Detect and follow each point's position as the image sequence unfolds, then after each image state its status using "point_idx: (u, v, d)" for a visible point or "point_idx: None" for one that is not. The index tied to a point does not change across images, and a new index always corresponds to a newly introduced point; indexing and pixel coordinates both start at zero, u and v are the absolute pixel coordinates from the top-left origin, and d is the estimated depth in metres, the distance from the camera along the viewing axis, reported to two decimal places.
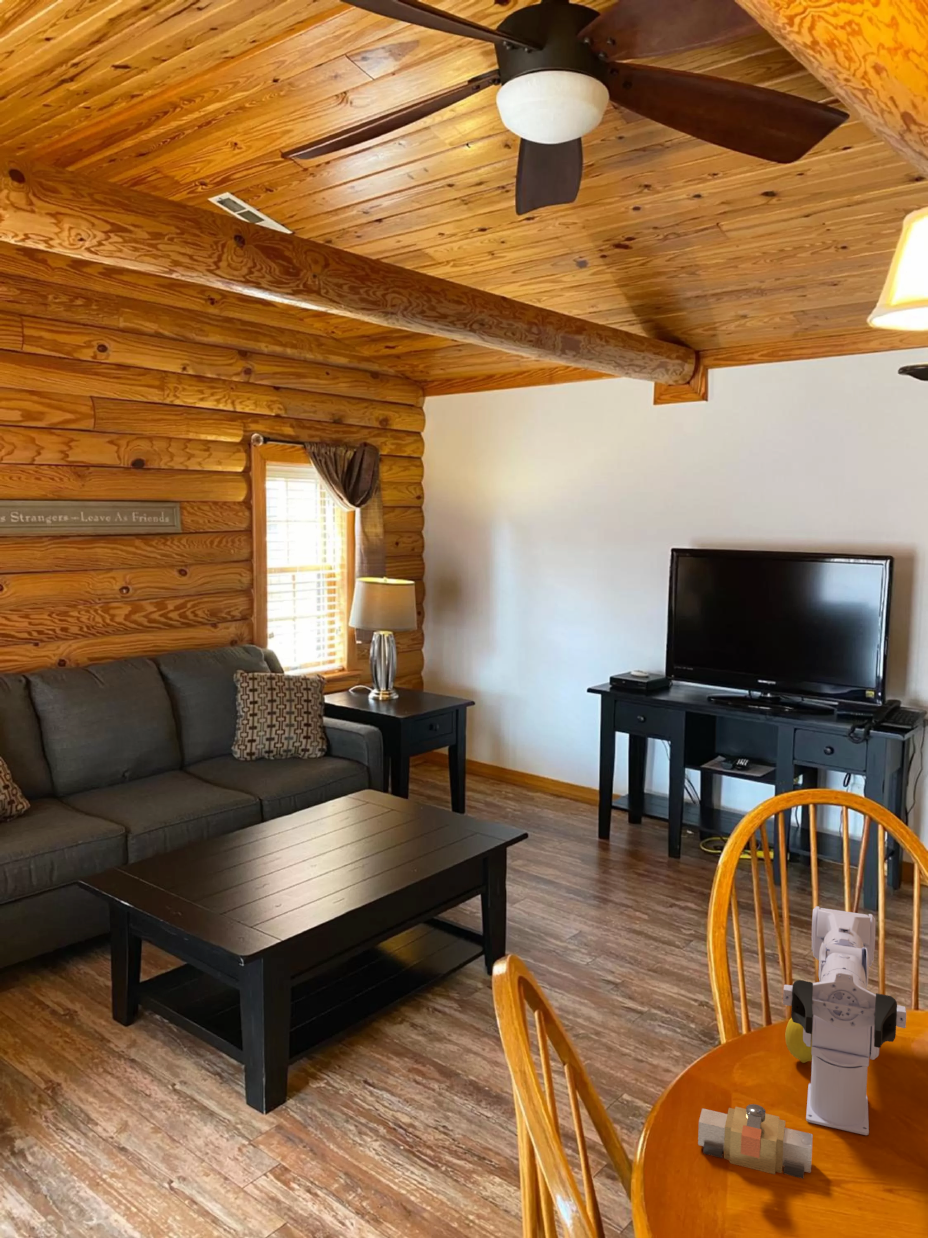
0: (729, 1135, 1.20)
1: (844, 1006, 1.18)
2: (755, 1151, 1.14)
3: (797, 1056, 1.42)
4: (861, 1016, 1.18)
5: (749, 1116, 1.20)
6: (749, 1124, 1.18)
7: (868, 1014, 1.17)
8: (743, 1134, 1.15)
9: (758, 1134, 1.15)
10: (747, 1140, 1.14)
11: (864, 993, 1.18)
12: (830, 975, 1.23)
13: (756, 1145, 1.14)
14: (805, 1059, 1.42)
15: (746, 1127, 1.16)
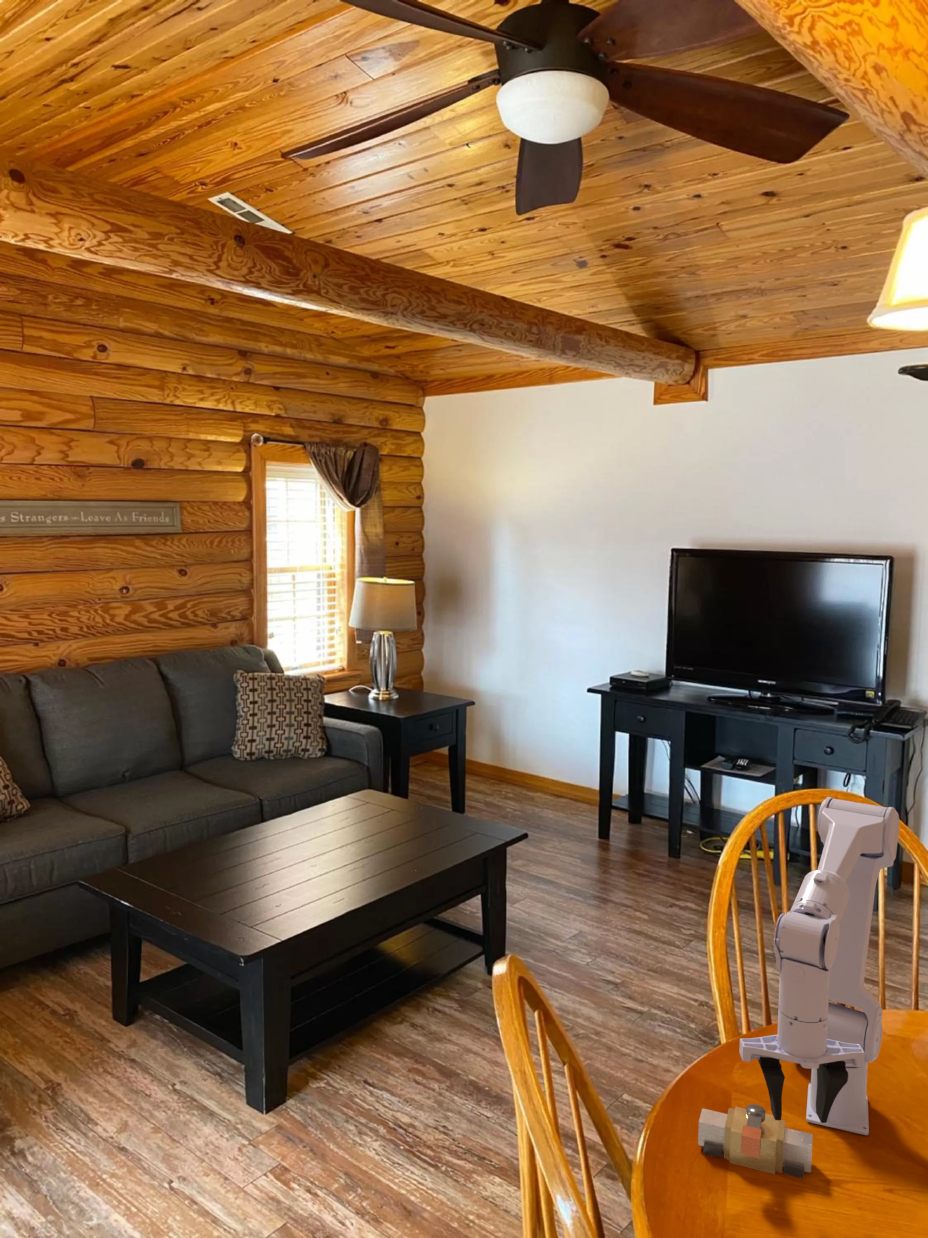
0: (729, 1135, 1.20)
1: None
2: (755, 1151, 1.14)
3: None
4: None
5: (749, 1116, 1.20)
6: (749, 1124, 1.18)
7: None
8: (743, 1134, 1.15)
9: (758, 1134, 1.15)
10: (747, 1140, 1.14)
11: None
12: (793, 1034, 1.12)
13: (756, 1145, 1.14)
14: None
15: (746, 1127, 1.16)
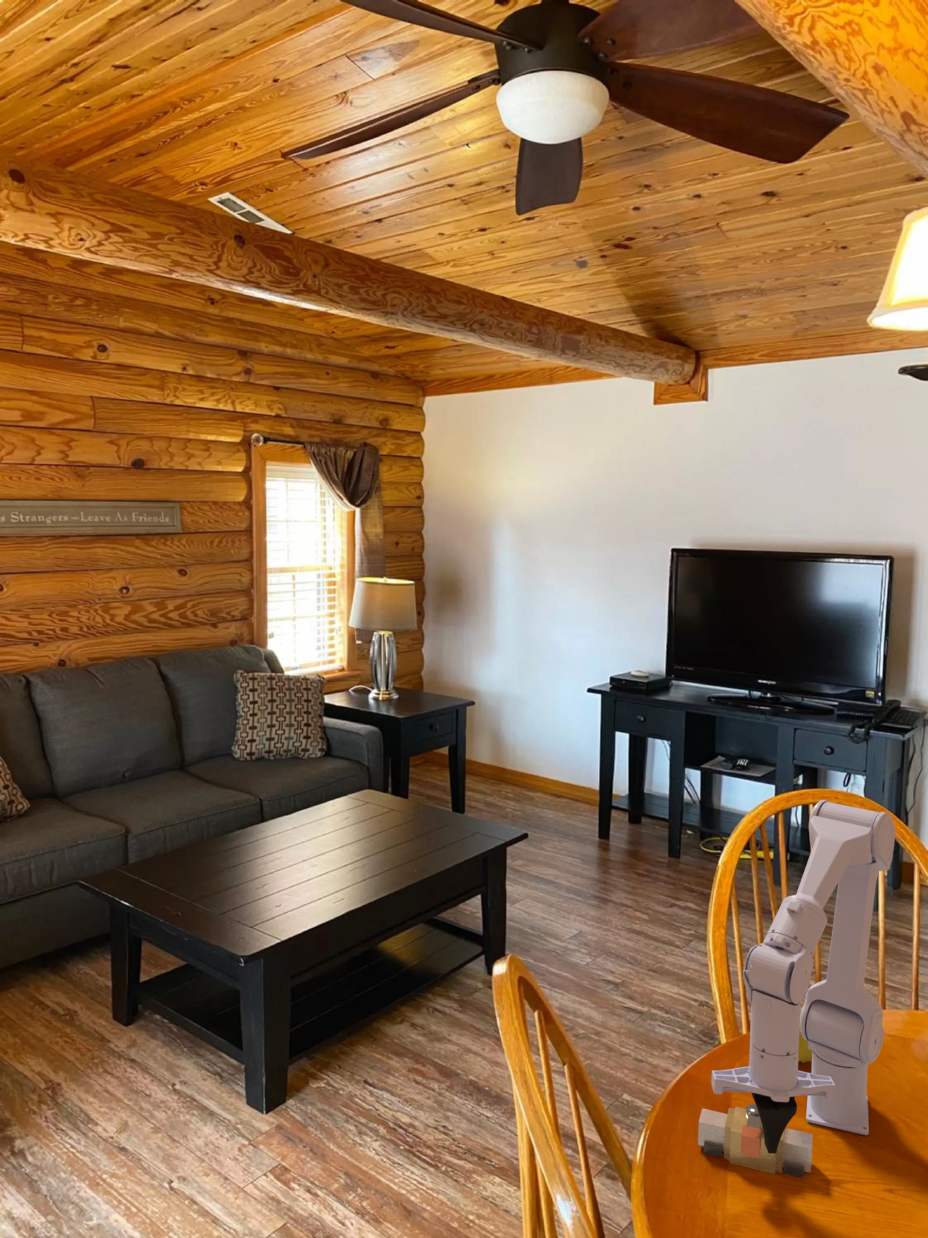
0: (729, 1135, 1.20)
1: None
2: (755, 1151, 1.14)
3: None
4: None
5: (749, 1116, 1.20)
6: (749, 1124, 1.18)
7: None
8: (743, 1134, 1.15)
9: (758, 1134, 1.15)
10: (747, 1140, 1.15)
11: None
12: (764, 1067, 1.12)
13: (756, 1145, 1.14)
14: (805, 1059, 1.42)
15: (746, 1127, 1.16)
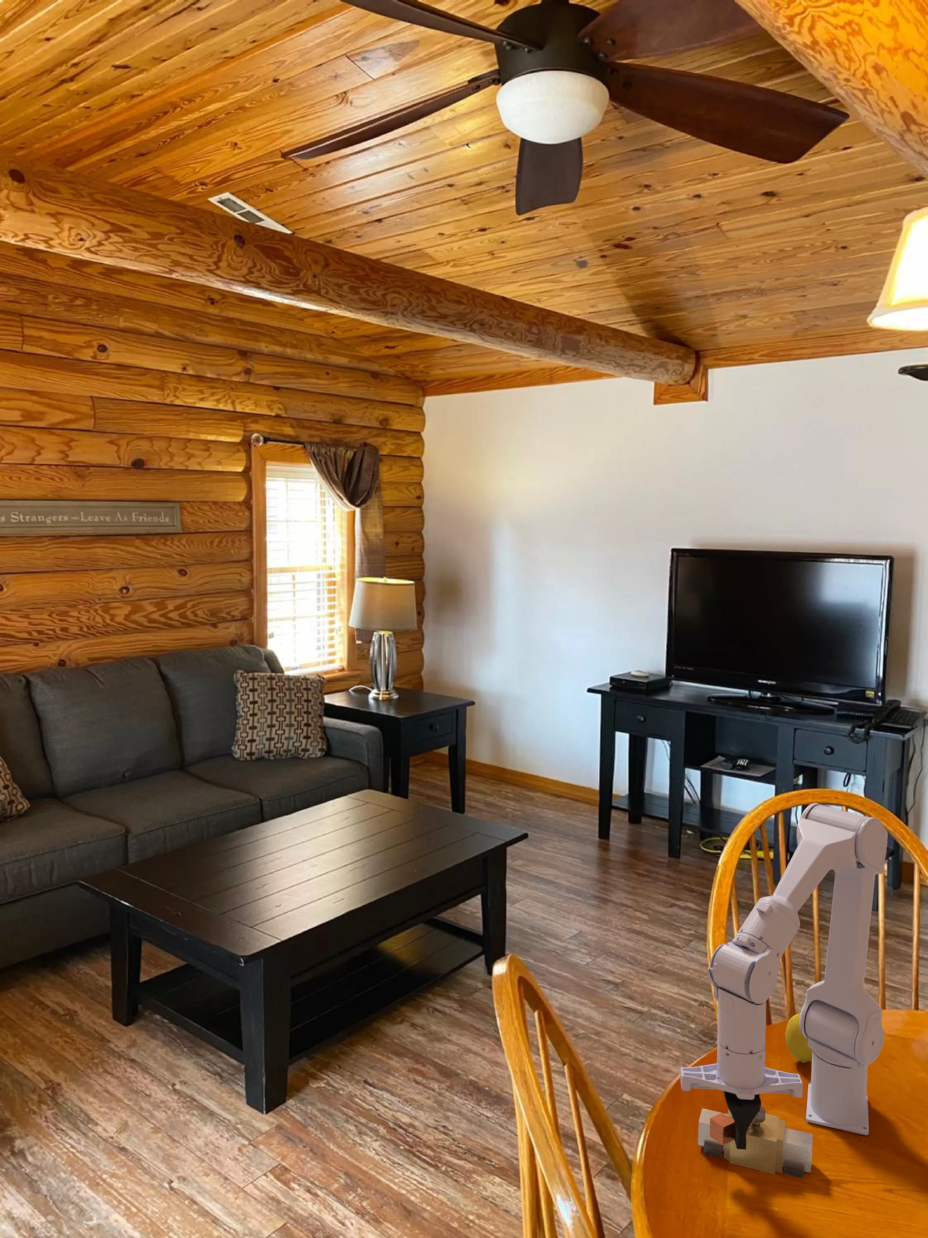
0: None
1: None
2: (720, 1137, 1.17)
3: (797, 1056, 1.42)
4: None
5: None
6: None
7: None
8: (712, 1118, 1.18)
9: (727, 1123, 1.17)
10: (714, 1124, 1.18)
11: None
12: (730, 1065, 1.13)
13: (721, 1131, 1.17)
14: (805, 1059, 1.42)
15: (722, 1115, 1.19)
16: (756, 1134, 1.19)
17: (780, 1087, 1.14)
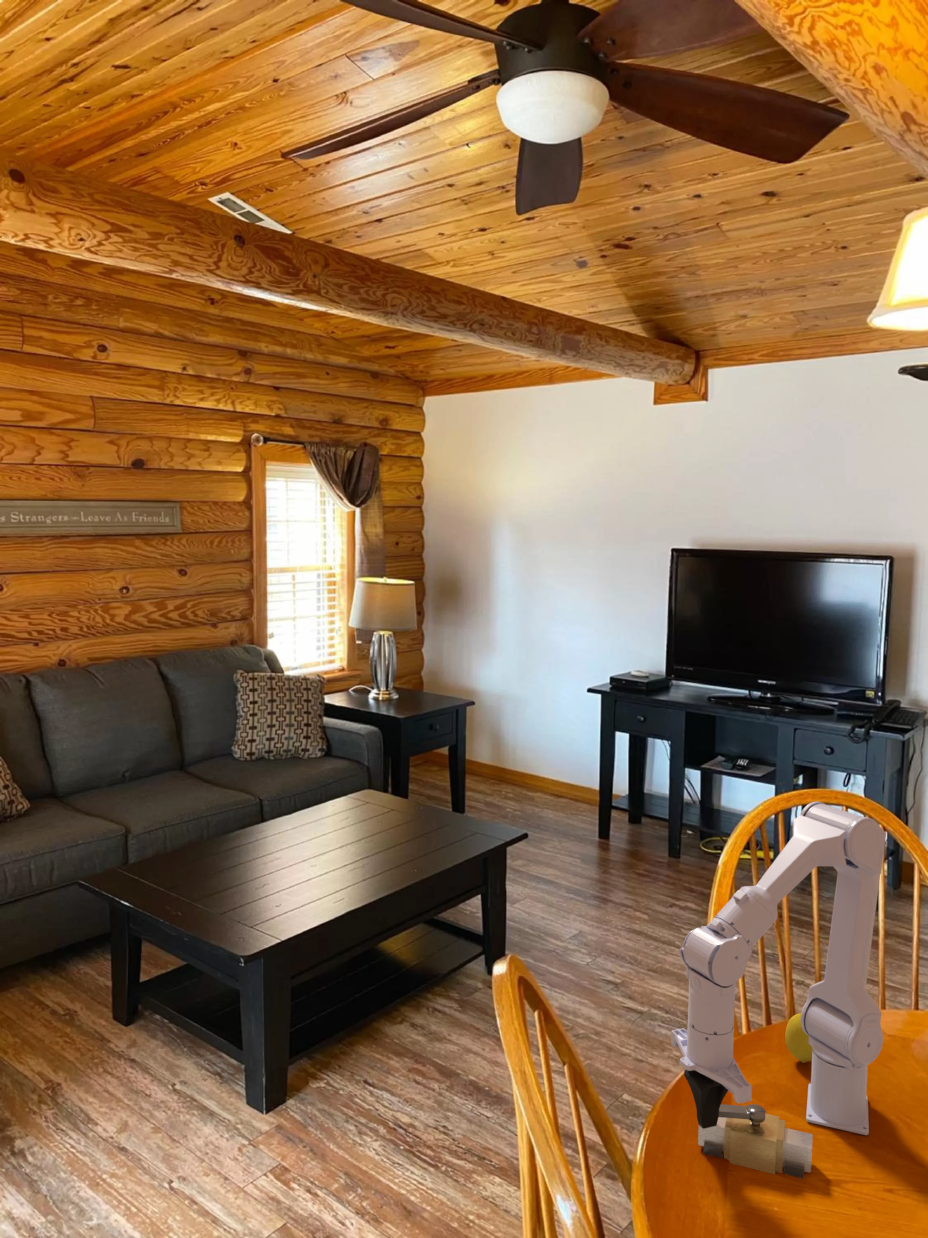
0: (729, 1135, 1.20)
1: None
2: None
3: (797, 1056, 1.42)
4: None
5: (741, 1106, 1.22)
6: (728, 1106, 1.22)
7: None
8: None
9: None
10: None
11: None
12: (687, 1033, 1.20)
13: None
14: (805, 1059, 1.42)
15: None
16: (756, 1134, 1.19)
17: (720, 1080, 1.14)
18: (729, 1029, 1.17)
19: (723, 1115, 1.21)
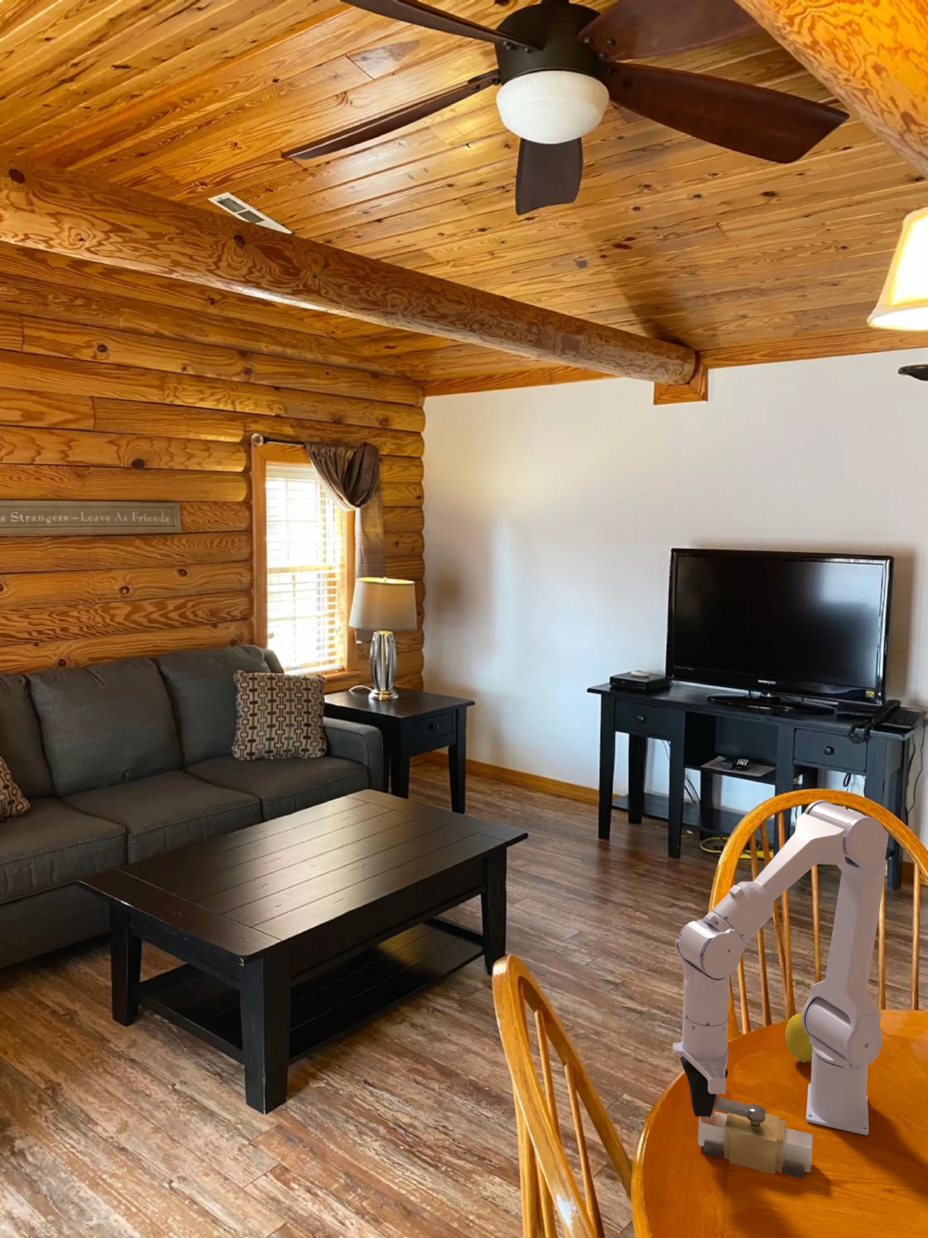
0: (729, 1135, 1.20)
1: None
2: None
3: (797, 1056, 1.42)
4: None
5: (743, 1104, 1.22)
6: (730, 1101, 1.23)
7: None
8: None
9: None
10: None
11: None
12: None
13: None
14: (805, 1059, 1.42)
15: None
16: (756, 1134, 1.19)
17: (699, 1069, 1.17)
18: (722, 1021, 1.19)
19: (721, 1108, 1.22)
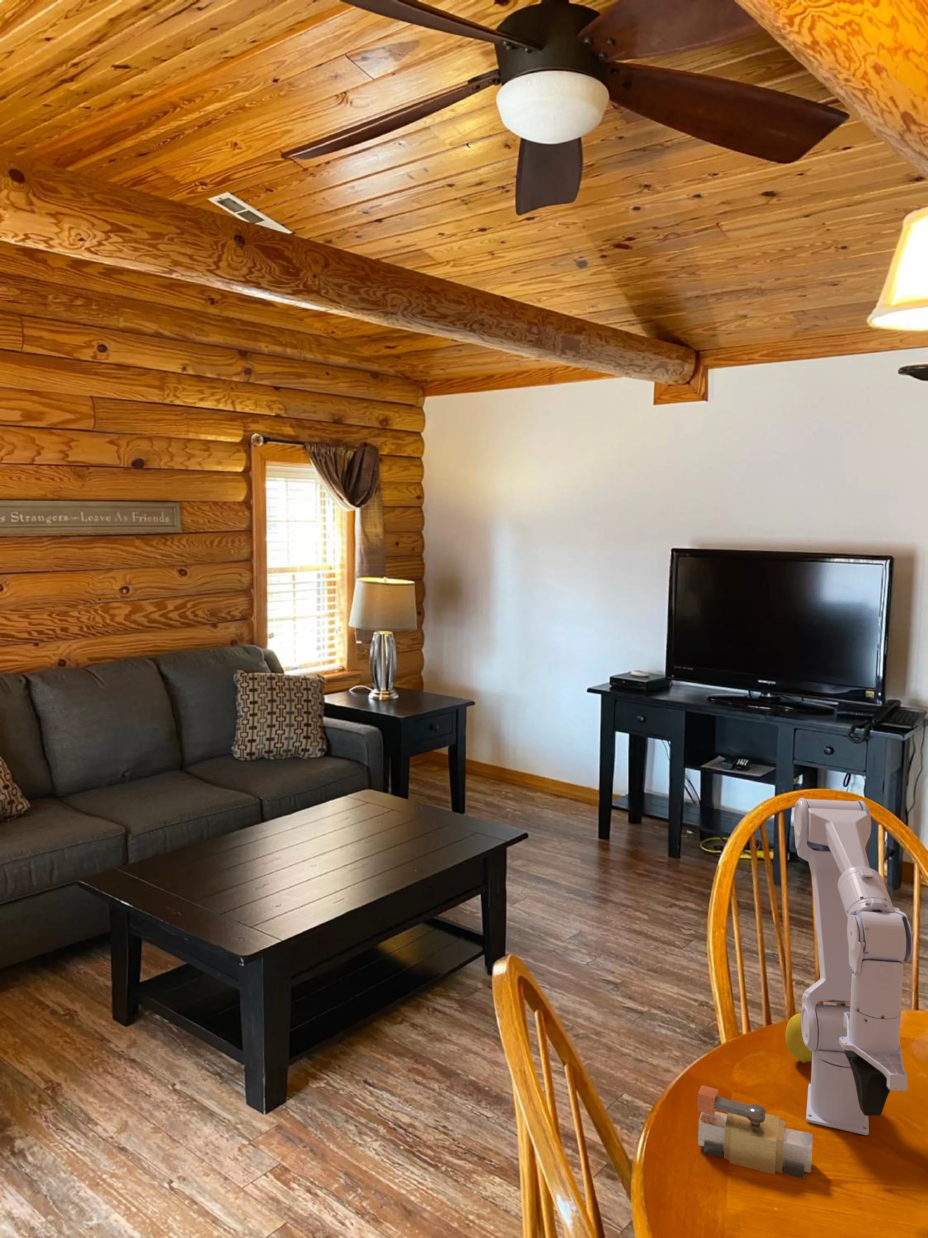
0: (729, 1135, 1.20)
1: None
2: (698, 1103, 1.24)
3: (797, 1056, 1.42)
4: None
5: (743, 1104, 1.22)
6: (730, 1101, 1.23)
7: None
8: (703, 1086, 1.25)
9: (705, 1094, 1.23)
10: None
11: None
12: None
13: (698, 1097, 1.24)
14: (805, 1059, 1.42)
15: (714, 1090, 1.24)
16: (756, 1134, 1.19)
17: (875, 1064, 1.11)
18: None
19: (721, 1108, 1.22)
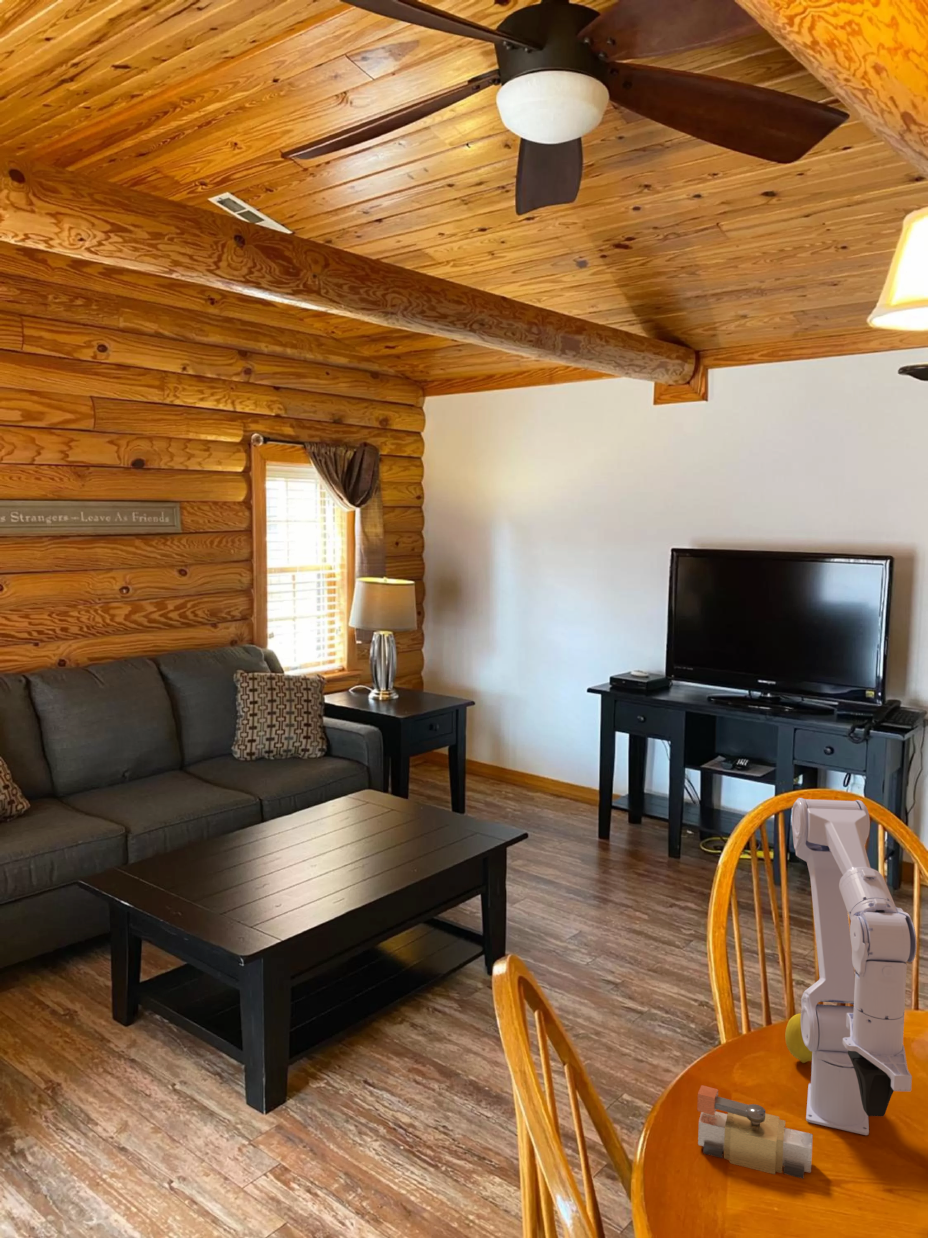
0: (729, 1135, 1.20)
1: None
2: (698, 1103, 1.24)
3: (797, 1056, 1.42)
4: None
5: (743, 1104, 1.22)
6: (730, 1101, 1.23)
7: None
8: (703, 1086, 1.25)
9: (705, 1094, 1.23)
10: None
11: None
12: None
13: (698, 1097, 1.24)
14: (805, 1059, 1.42)
15: (714, 1090, 1.24)
16: (756, 1134, 1.19)
17: (879, 1064, 1.10)
18: None
19: (721, 1108, 1.22)
